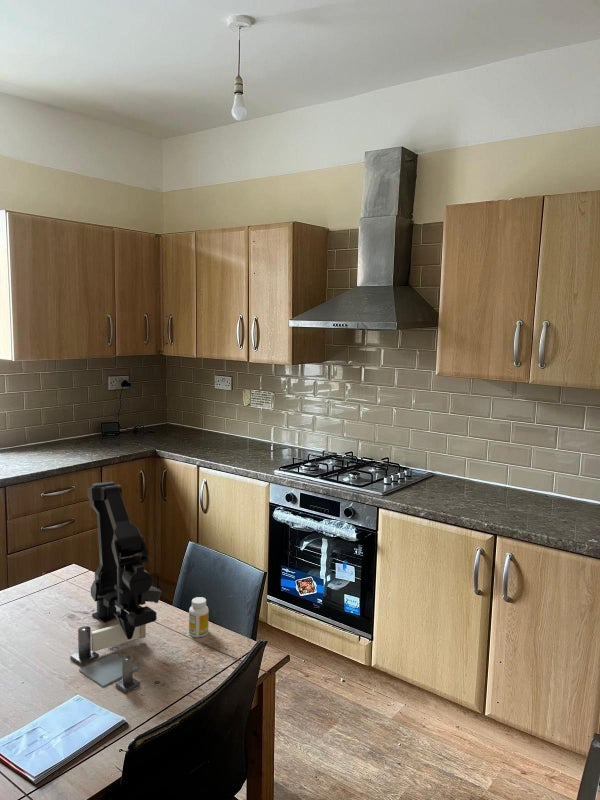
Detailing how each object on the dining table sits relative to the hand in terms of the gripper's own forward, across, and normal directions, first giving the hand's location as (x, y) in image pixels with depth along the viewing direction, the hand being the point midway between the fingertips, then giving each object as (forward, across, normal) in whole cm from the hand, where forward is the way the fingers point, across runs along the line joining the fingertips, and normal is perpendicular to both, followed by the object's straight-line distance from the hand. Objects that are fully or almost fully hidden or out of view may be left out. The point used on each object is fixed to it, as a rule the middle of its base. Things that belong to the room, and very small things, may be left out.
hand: (129, 638), depth 158 cm
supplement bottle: (+4, -3, -19) cm, 20 cm away
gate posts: (+4, -5, +9) cm, 11 cm away
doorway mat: (+4, -5, +8) cm, 10 cm away
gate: (+2, +3, +2) cm, 4 cm away
